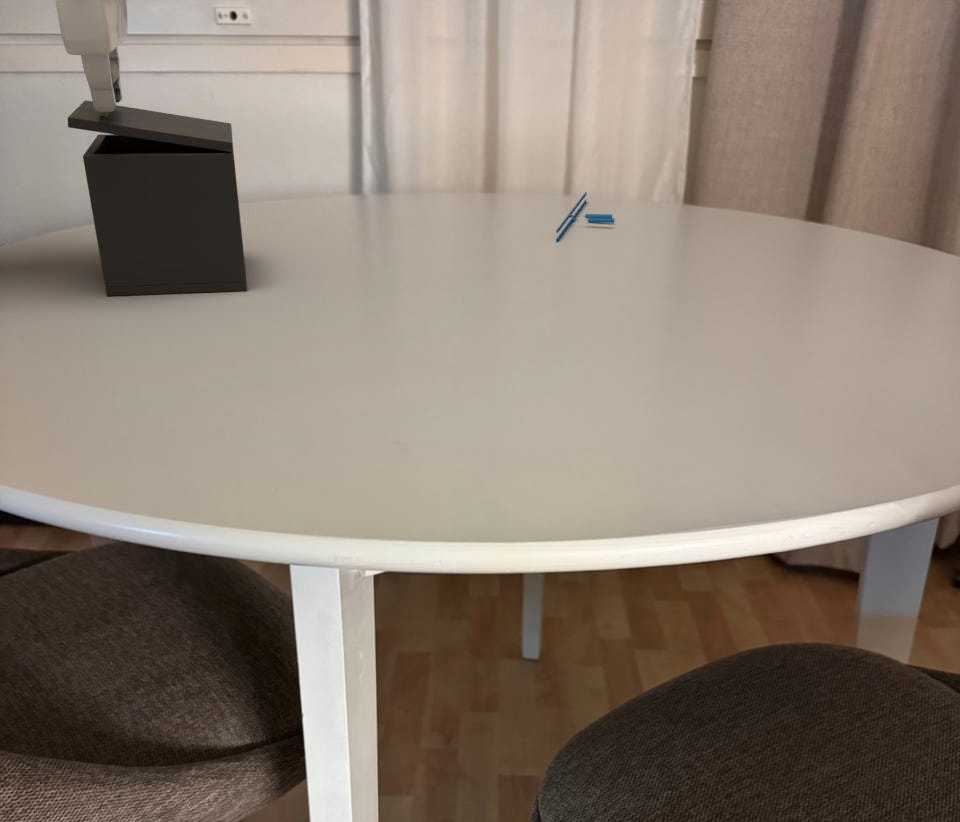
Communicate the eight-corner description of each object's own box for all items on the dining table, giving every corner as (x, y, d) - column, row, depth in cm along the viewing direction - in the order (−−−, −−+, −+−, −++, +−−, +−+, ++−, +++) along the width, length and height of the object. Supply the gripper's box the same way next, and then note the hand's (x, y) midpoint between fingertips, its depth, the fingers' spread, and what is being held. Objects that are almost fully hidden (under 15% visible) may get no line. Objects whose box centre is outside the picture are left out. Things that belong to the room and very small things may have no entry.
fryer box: (106, 296, 97) (82, 155, 91) (118, 261, 108) (97, 134, 102) (247, 290, 99) (233, 153, 93) (244, 257, 110) (231, 133, 104)
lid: (67, 127, 89) (66, 63, 87) (84, 109, 100) (83, 52, 98) (232, 152, 93) (235, 91, 90) (230, 132, 104) (233, 77, 102)
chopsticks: (625, 191, 138) (585, 190, 139) (603, 229, 117) (556, 229, 118) (625, 203, 139) (585, 202, 140) (602, 243, 118) (556, 242, 119)
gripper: (106, -85, 79) (138, 119, 87) (126, -77, 96) (151, 94, 104) (18, -86, 78) (58, 121, 86) (53, -77, 95) (84, 95, 103)
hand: (109, 106), depth 95 cm, fingers closed on lid, 6 cm apart
